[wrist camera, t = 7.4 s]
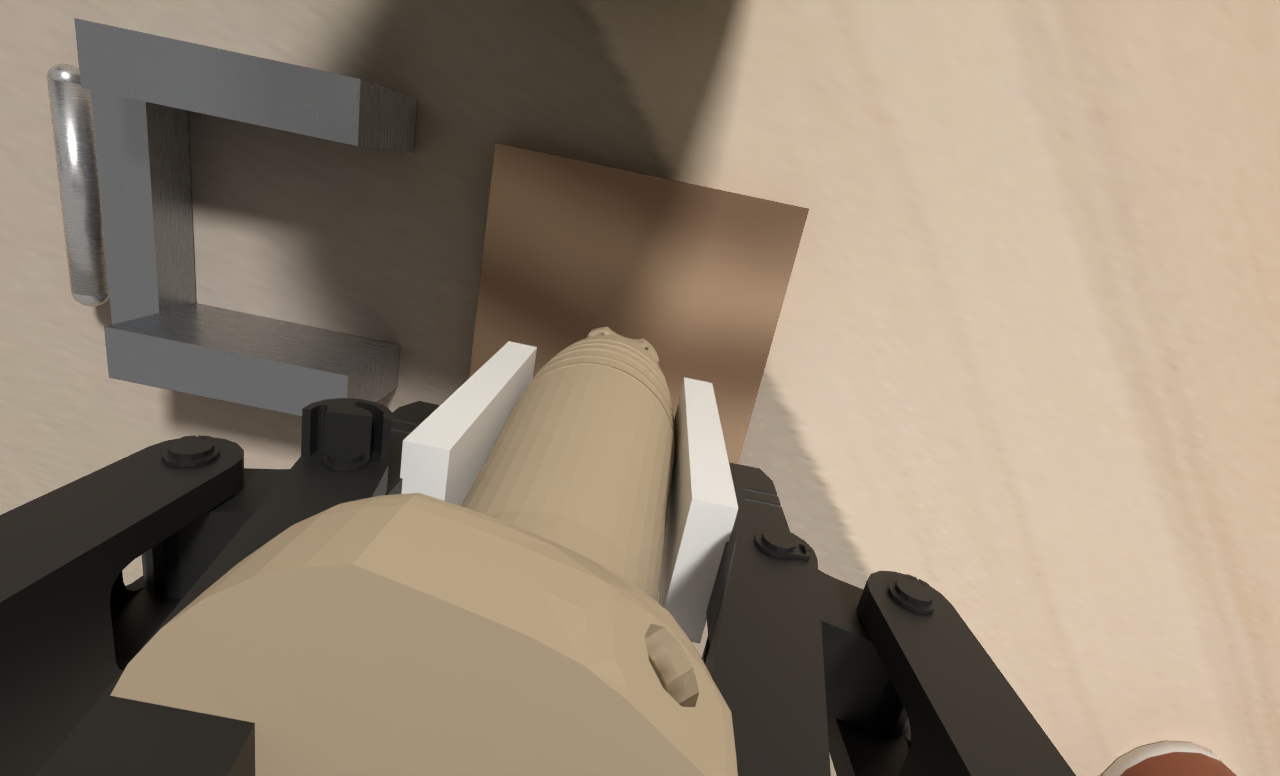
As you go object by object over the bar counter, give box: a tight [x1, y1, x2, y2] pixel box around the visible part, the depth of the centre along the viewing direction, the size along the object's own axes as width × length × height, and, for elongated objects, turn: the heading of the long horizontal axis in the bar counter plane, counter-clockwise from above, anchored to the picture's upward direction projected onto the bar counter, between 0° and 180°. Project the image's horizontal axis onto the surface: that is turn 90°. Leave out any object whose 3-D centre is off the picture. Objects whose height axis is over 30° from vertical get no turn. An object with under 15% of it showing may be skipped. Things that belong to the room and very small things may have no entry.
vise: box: [47, 18, 417, 416], centre depth 23 cm, size 12×13×4 cm
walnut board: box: [469, 143, 809, 464], centre depth 25 cm, size 12×12×1 cm
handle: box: [110, 327, 738, 776], centre depth 12 cm, size 5×6×15 cm
